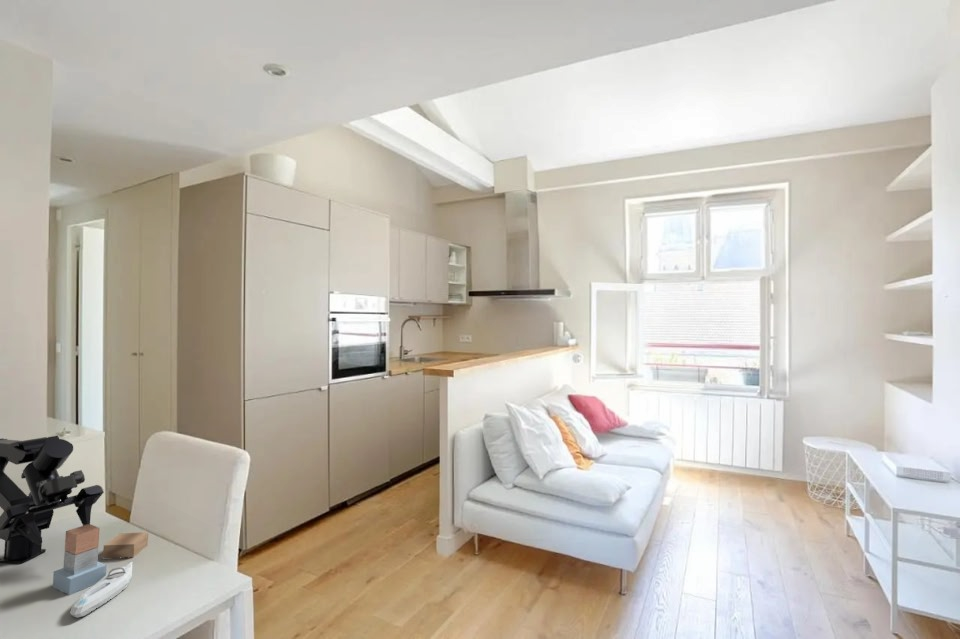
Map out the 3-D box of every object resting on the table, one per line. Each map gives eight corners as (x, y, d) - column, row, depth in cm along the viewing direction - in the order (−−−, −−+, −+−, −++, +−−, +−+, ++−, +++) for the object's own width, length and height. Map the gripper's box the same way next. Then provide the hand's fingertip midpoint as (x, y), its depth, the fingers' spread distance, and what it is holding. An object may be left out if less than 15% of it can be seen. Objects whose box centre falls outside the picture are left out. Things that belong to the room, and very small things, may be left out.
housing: (63, 570, 105) (65, 531, 105) (86, 561, 109) (88, 523, 109) (73, 575, 103) (76, 535, 103) (97, 566, 107) (99, 527, 107)
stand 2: (102, 559, 117) (103, 545, 117) (118, 546, 123) (119, 533, 124) (133, 557, 118) (134, 544, 118) (147, 544, 125) (148, 532, 125)
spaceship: (97, 621, 93) (98, 599, 93) (59, 625, 92) (60, 603, 92) (150, 564, 116) (150, 546, 116) (120, 566, 114) (121, 549, 114)
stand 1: (52, 586, 104) (53, 571, 104) (88, 572, 110) (89, 557, 110) (69, 595, 101) (70, 579, 101) (105, 579, 108) (106, 564, 108)
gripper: (6, 472, 103) (28, 532, 98) (102, 453, 120) (124, 503, 115) (-13, 500, 106) (7, 559, 101) (83, 478, 123) (104, 528, 118)
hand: (65, 535), depth 109 cm, fingers open, 9 cm apart
